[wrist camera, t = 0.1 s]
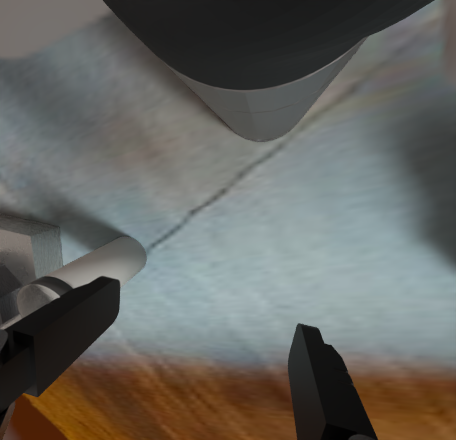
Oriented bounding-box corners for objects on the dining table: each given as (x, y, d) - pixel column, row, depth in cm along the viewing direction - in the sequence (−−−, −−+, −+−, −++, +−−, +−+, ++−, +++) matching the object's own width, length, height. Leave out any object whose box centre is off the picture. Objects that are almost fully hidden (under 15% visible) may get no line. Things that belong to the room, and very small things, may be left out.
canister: (110, 232, 29) (12, 277, 18) (147, 240, 29) (70, 292, 17) (110, 268, 31) (21, 329, 20) (146, 276, 30) (74, 345, 19)
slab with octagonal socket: (-21, 209, 32) (-94, 221, 26) (59, 226, 31) (2, 244, 24) (1, 315, 38) (-55, 347, 31) (69, 334, 36) (25, 373, 30)
